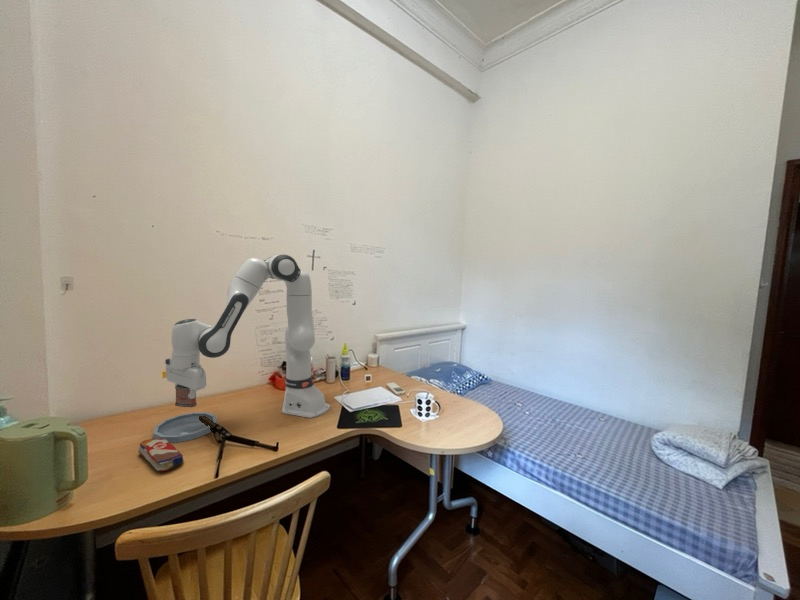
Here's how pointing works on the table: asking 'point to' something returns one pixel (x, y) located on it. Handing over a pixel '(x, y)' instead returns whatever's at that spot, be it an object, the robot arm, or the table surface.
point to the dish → (183, 427)
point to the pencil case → (160, 454)
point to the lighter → (184, 397)
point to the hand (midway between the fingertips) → (186, 396)
